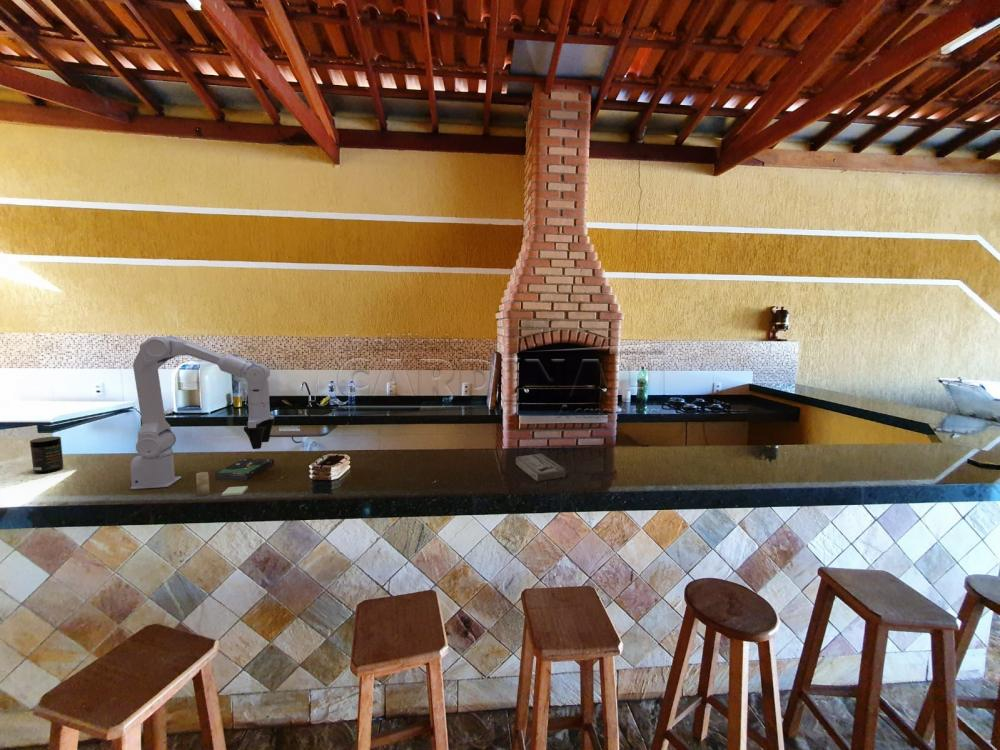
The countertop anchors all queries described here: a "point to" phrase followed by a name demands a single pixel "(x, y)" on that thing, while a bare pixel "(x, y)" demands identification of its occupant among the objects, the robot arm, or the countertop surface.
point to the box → (540, 467)
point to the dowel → (202, 483)
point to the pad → (235, 490)
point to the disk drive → (244, 469)
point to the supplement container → (46, 455)
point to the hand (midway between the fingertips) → (261, 445)
